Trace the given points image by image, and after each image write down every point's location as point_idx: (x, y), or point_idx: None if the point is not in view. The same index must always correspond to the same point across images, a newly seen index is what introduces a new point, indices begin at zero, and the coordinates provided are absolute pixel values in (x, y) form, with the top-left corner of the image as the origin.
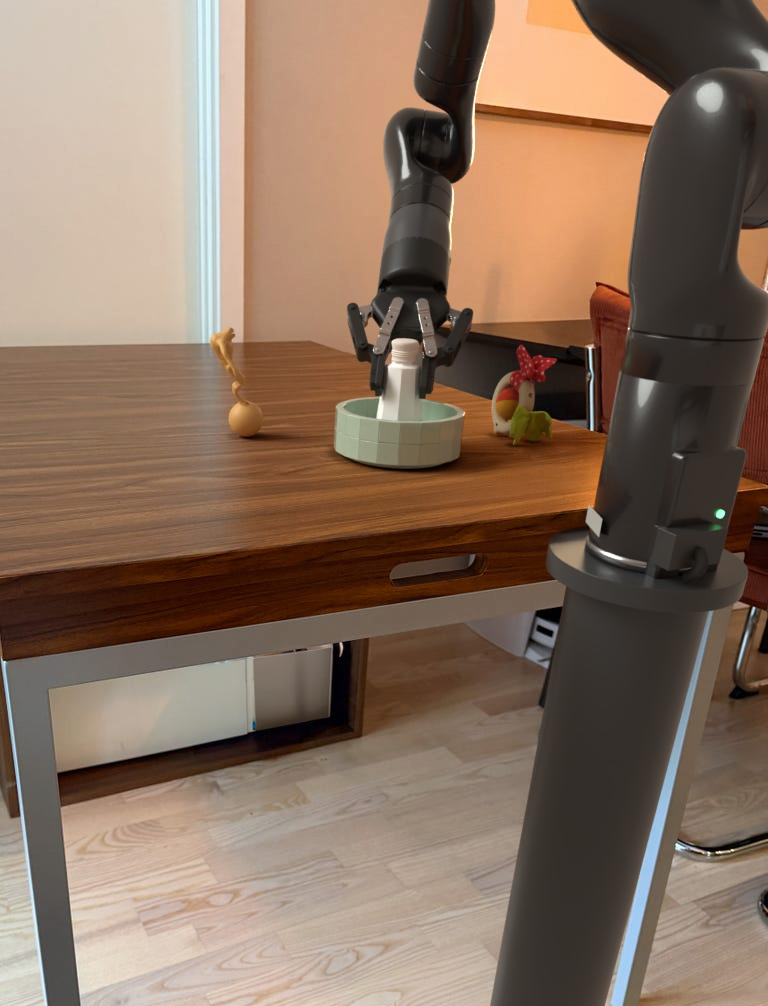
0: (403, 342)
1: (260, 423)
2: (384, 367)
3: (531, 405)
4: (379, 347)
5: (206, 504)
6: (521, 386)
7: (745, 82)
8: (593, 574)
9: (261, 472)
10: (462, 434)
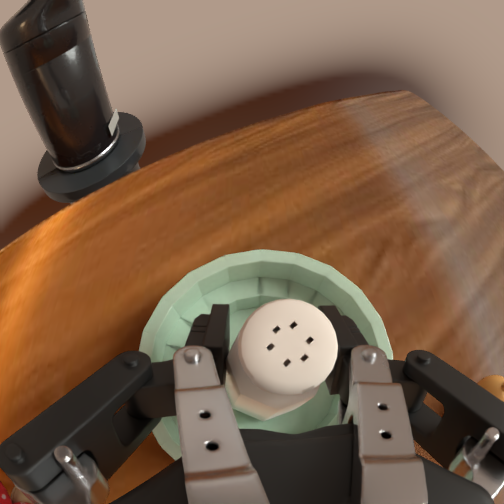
0: (293, 301)
1: None
2: None
3: None
4: (368, 353)
5: (397, 157)
6: (27, 499)
7: None
8: (133, 116)
9: (407, 244)
10: None
